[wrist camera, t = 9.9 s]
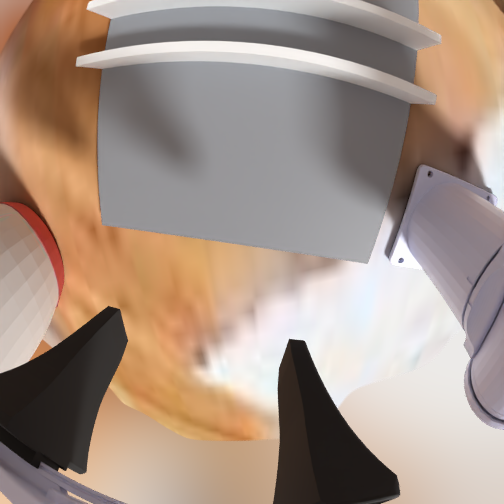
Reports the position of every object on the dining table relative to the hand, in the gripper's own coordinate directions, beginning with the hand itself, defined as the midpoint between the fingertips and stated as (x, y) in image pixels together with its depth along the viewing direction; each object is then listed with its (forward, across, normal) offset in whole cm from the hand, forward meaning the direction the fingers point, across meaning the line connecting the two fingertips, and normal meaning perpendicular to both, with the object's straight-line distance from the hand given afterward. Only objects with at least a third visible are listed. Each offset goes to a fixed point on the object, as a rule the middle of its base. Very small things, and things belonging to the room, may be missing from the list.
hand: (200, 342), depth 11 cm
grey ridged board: (+10, 0, -13) cm, 16 cm away
